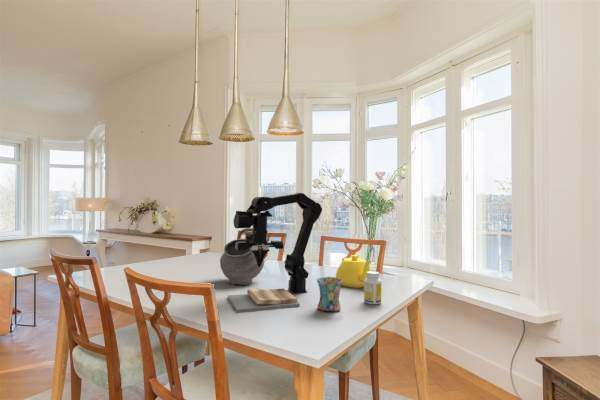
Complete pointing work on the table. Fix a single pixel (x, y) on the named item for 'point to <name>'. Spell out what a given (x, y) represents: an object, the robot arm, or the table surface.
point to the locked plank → (284, 296)
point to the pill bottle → (372, 288)
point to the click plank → (264, 296)
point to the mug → (329, 293)
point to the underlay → (254, 304)
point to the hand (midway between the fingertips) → (259, 266)
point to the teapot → (353, 271)
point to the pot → (239, 262)
